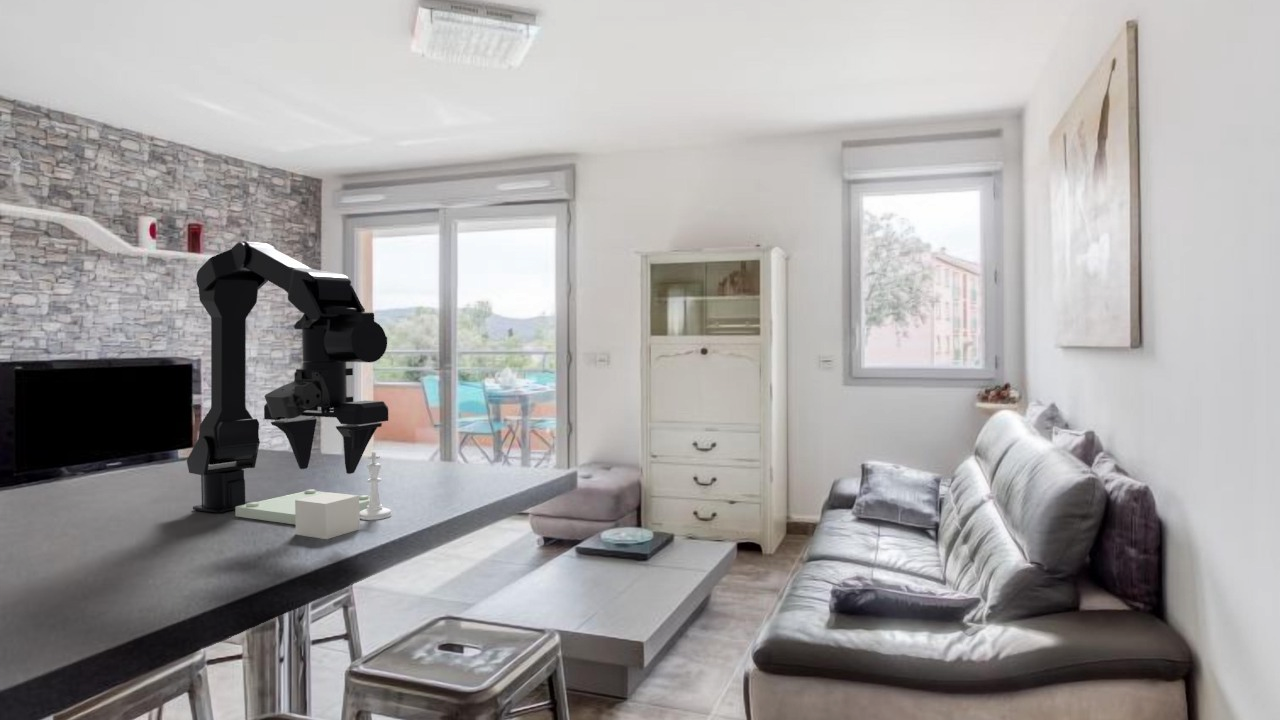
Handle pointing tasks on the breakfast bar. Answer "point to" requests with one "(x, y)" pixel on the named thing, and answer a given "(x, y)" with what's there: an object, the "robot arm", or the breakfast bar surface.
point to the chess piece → (374, 494)
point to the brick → (327, 515)
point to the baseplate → (283, 507)
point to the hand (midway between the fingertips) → (326, 471)
